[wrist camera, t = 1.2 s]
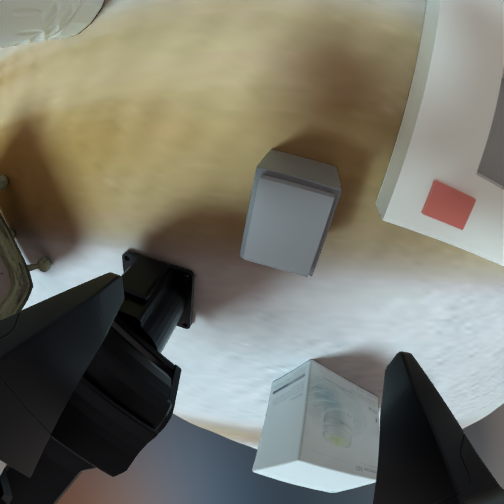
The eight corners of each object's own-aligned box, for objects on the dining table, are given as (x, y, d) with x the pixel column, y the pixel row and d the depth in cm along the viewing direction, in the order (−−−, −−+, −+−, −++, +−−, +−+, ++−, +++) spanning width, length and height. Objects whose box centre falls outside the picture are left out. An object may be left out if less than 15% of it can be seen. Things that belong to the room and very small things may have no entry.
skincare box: (381, 394, 26) (382, 482, 18) (338, 415, 30) (331, 493, 21) (312, 355, 25) (299, 463, 16) (270, 382, 28) (248, 472, 20)
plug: (314, 237, 19) (311, 282, 15) (255, 221, 19) (236, 262, 15) (336, 166, 16) (342, 194, 12) (271, 148, 17) (254, 170, 12)
